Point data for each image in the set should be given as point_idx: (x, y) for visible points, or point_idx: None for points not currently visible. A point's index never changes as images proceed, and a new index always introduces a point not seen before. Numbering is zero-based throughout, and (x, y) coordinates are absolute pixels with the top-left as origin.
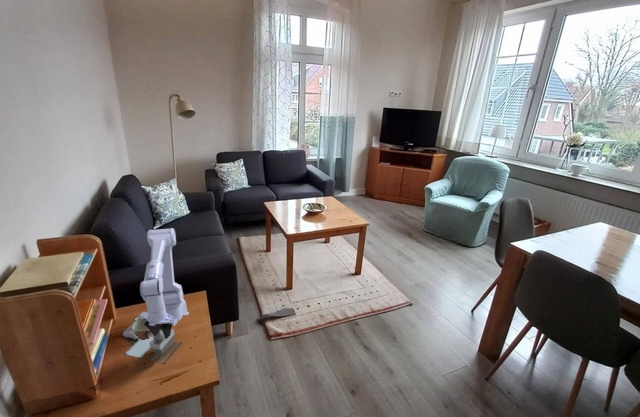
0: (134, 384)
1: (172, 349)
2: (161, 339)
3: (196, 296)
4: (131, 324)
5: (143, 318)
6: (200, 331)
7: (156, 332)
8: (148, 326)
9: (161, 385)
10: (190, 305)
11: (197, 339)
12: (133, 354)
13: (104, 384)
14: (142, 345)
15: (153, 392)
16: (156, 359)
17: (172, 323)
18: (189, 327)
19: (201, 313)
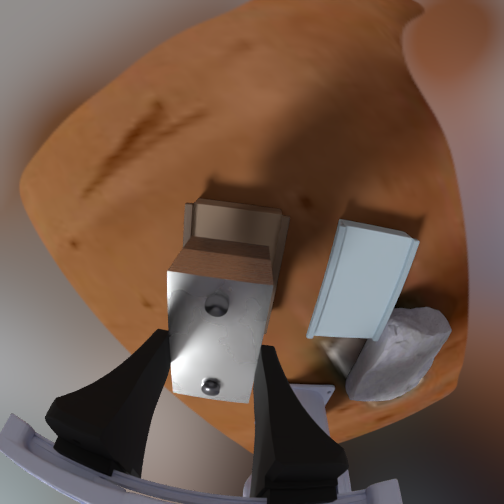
0: (287, 82)
1: None
2: (190, 322)
3: None
4: (431, 364)
5: (369, 493)
6: None
7: (258, 374)
8: (285, 450)
9: (150, 98)
10: None
11: (149, 337)
12: (383, 241)
13: (419, 91)
14: (364, 293)
15: (167, 61)
16: (247, 221)
17: (10, 438)
18: None
19: (213, 420)
